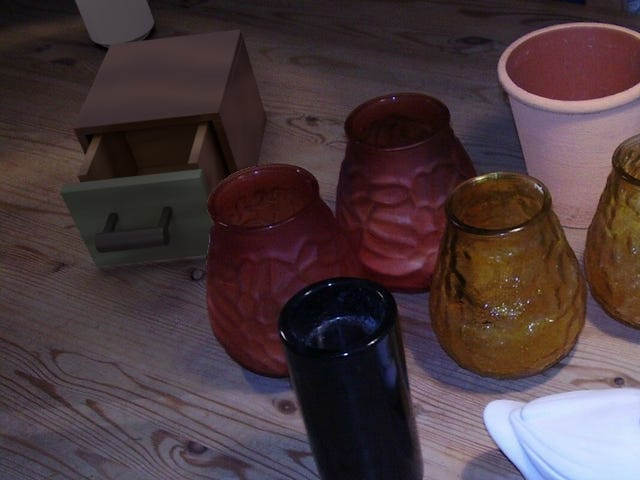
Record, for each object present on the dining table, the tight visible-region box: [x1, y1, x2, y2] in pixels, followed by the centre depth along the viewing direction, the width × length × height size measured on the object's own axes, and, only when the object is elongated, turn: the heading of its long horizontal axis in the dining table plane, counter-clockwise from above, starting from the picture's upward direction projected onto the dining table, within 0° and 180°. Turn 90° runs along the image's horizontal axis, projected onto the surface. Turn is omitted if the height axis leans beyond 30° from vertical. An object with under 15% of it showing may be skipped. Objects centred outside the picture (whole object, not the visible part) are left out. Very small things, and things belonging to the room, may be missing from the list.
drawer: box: [59, 121, 230, 268], centre depth 85 cm, size 18×11×8 cm, turn 2°
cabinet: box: [72, 29, 267, 175], centre depth 93 cm, size 15×13×10 cm
